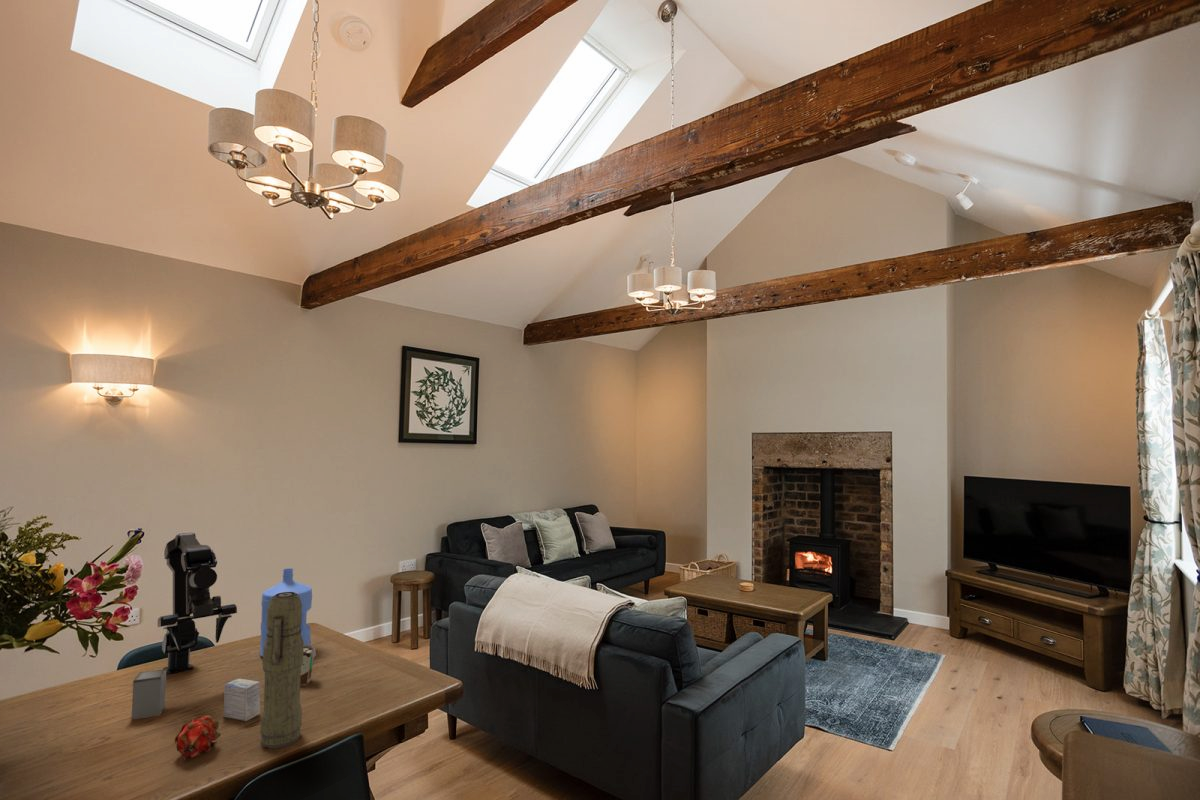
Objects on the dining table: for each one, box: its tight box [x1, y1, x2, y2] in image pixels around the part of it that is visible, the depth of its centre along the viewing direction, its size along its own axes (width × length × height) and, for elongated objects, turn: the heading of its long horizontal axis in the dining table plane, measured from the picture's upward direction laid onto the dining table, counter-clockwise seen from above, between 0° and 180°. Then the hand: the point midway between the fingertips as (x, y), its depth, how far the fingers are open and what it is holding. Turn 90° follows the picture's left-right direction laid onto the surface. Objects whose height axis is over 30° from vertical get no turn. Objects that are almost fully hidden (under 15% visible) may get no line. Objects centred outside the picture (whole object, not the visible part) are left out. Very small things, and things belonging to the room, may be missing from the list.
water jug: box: [259, 568, 313, 658], centre depth 210 cm, size 16×16×28 cm
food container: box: [300, 644, 317, 685], centre depth 185 cm, size 12×6×10 cm, turn 84°
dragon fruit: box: [174, 714, 221, 761], centre depth 142 cm, size 8×8×12 cm
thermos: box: [259, 592, 304, 749], centre depth 150 cm, size 9×12×35 cm
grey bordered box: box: [131, 669, 167, 720], centre depth 163 cm, size 6×6×10 cm
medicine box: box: [223, 678, 261, 722], centre depth 162 cm, size 8×4×9 cm, turn 71°
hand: (198, 646), depth 175 cm, fingers open, 9 cm apart
